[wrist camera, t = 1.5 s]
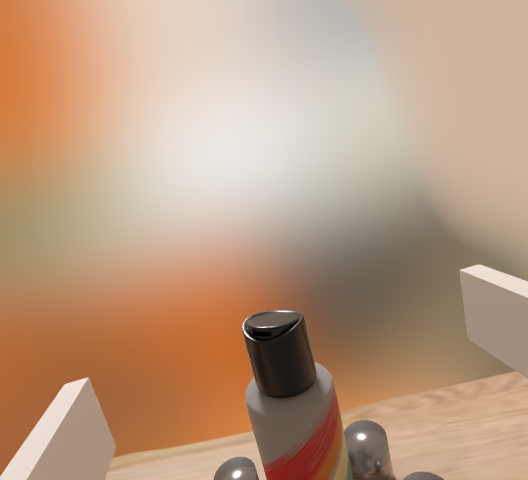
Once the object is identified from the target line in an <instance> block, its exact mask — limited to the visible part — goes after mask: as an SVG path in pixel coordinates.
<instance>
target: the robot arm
mask: <svg viewBox="0 0 528 480" xmlns="http://www.w3.org/2000/svg"><path fill="white" fill-rule="evenodd" d="M460 278H461V286H462V293H463V302H464V310H465V317H466V326H467V334H468V339H469V340H471V341H472V342H474V343H475V344H477V345H478V346H480V347H481V348H483V349H484V350H486V351H487V352H489V353H490V354H492V355H493V356H495V357H496V358H498V359H499V360H501V361H502V362H504V363H505V364H507V365H508V366H510V367H511V368H513V369H514V370H516V371H517V372H519V373H520V374H522V375H523V376H525V377H526V378H528V281H525V280H522V279H519V278H516V277H513V276H511V275H508V274H505V273H502V272H499V271H497V270H494V269H491V268H488V267H485V266H482V265H480V264H479V265H475V266H472V267H468V268H465V269H461V270H460ZM115 449H116V446H115V443H114V440H113V438H112V435H111V433H110V430H109V428H108V425H107V423H106V420H105V417H104V415H103V413H102V410H101V408H100V405H99V402H98V400H97V397H96V395H95V392H94V390H93V388H92V385H91V382H90V380H89V378H85V379H82V380H78V381H74V382H71V383H68V384H65V385H64V386H63V388H62V389H61V391H60V392H59V393H58V395H57V396H56V398H55V399H54V401H53V402H52V403H51V405H50V406H49V408H48V409H47V410H46V412H45V413H44V415H43V416H42V418H41V419H40V421H39V422H38V423H37V425H36V426H35V428H34V429H33V431H32V432H31V433H30V435H29V436H28V438H27V439H26V440H25V442H24V443H23V445H22V446H21V448H20V449H19V451H18V452H17V454H16V455H15V456H14V458H13V459H12V461H11V462H10V463H9V465H8V466H7V468H6V469H5V471H4V472H3V473H2V475H1V476H0V480H105V478H106V475H107V472H108V469H109V466H110V463H111V461H112V458H113V455H114V452H115Z"/></svg>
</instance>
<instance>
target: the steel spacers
mask: <svg viewBox="0 0 528 480" xmlns="http://www.w3.org/2000/svg"><path fill="white" fill-rule="evenodd" d="M344 435H345V439H346V444H347V449H348V454H349V459H350V464H351V468H352V473H353V478H354V480H394V476H393V471H392V465H391V459H390V453H389V448H388V442H387V436H386V432H385V430H384V429H383V428H382V427H381V426H380V425H379V424H377V423H375V422H372V421H367V420H361V421H356V422H354V423H352V424H350V425H349V426H348V427H347V428H346V429H345V431H344ZM214 480H259V478H258V475H257V471H256V468H255V465H254V463H253V462H252V461H251V460H250V459H248V458H245V457H236V458H232V459H230V460H228V461H226V462H225V463H223V464H222V465H221V466H220V467H219V469H218V470H217V472H216V473H215V476H214ZM403 480H444V479H442V478H441V477H439V476H437V475H435V474H432V473H428V472H415V473H412V474H410V475H408V476H407V477H405V478H404V479H403Z"/></svg>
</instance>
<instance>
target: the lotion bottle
mask: <svg viewBox="0 0 528 480" xmlns="http://www.w3.org/2000/svg"><path fill="white" fill-rule="evenodd" d="M242 330H243V335H244V339H245V343H246V347H247V350H248V354H249V358H250V362H251V366H252V370H253V374H254V378H253V380H252V381H251V382H250V384H249V386H248V388H247V391H246V404H247V408H248V412H249V416H250V420H251V424H252V427H253V431H254V435H255V438H256V442H257V445H258V449H259V453H260V456H261V460H262V464H263V467H264V471H265V474H266V478H267V480H354V478H353V473H352V468H351V464H350V459H349V454H348V449H347V444H346V439H345V435H344V430H343V425H342V420H341V415H340V411H339V406H338V401H337V396H336V392H335V387H334V384H333V380H332V377H331V375H330V373H329V372H328V371H327V370H326V369H325V368H324V367H323V366H321V365H319V364H318V363H315V362H314V358H313V354H312V349H311V345H310V341H309V336H308V332H307V328H306V323H305V319H304V315H303V314H302V313H301V312H299V311H293V310H275V311H265V312H259V313H256V314H253V315H251V316H250V317H248V318H247V319H246V320H245V321H244V323H243V326H242Z"/></svg>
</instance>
